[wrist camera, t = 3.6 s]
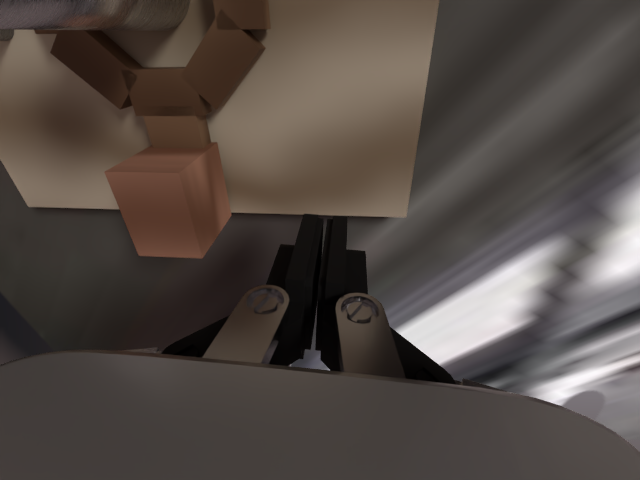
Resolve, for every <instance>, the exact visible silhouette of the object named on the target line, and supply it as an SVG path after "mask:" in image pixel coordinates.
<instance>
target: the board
mask: <svg viewBox="0 0 640 480" xmlns="http://www.w3.org/2000/svg"><path fill="white" fill-rule="evenodd" d="M268 1H269V13H270V25H271V29H256V30H249V31H250V32H251V33H252V34H253V35H254V36H255V37H256V38H257V39H258V40H259V41H260V42H261V43H262V44H263V45H264V47H265V48H266V49H265V50H264V52H263V53H262V55H261V56H260V57H259V59H258V60H257V61H256V63H255V64H254V65H253V67H252V68H251V70H250V71H249V72H248V74H247V75H246V76H245V78H244V79H243V80H242V82H241V83H240V85H239V86H238V87H237V89H236V90H235V91H234V93H233V94H232V95H231V97H230V98H229V100H228V101H227V102H226V104H225V105H224V106H222V107H220V108H218V109H217V110H216V109H215V108H214V107H213V106H212V105H211V110H212V112H210V113H208V114H206V119H207V124H208V129H209V134H210V139H211V142H217V143H218V149H219V154H220V159H221V164H222V169H223V174H224V179H225V184H226V189H227V195H228V200H229V205H230V210H231V213H267V214H302V215H304V214H318V215H338V216H373V217H406V216H407V209H408V202H409V196H410V189H411V183H412V176H413V170H414V163H415V156H416V150H417V143H418V137H419V130H420V124H421V117H422V110H423V104H424V97H425V91H426V84H427V78H428V71H429V64H430V58H431V51H432V45H433V38H434V31H435V25H436V18H437V12H438V5H439V0H268ZM215 18H216V16H215V10H214V4H213V0H190V6H189V10H188V13H187V15H186V17H185V19H184V20H183V21H182V22H181V24H180V25H178V26H177V27H175V28H173V29H171V30H166V31H130V30H102V31H103V32H104V33H105V34H106V35H107V36H108V37H109V38H111V39H112V40H113V41H114V42H115V43H116V44H117V45H118V46H120V47H121V48H122V49H123V50H124V51H125V52H126V53H128V54H129V55H130V56H131V57H132V58H133V59H134V60H135V61H137V62H138V63H139V64H140V65H141V66H142V67H186V65H187V64H188V62H189V60H190V59H191V57H192V56H193V54H194V52H195V51H196V49H197V47H198V46H199V44H200V43H201V41H202V39H203V38H204V36H205V34H206V33H207V31H208V30H209V28H210V26H211V25H212V23H213V21H214V20H215ZM56 35H57V34H36V33H35V31H34V30H15V29H14V36H13V38H12V39H11V40H9V41H0V159H1V161H2V163H3V165H4V166H5V168H6V170H7V171H8V173H9V175H10V176H11V178H12V180H13V182H14V183H15V185H16V187H17V188H18V190H19V192H20V193H21V195H22V197H23V198H24V200H25V202H26V204H27V205H28V207H53V208H88V209H119V207H118V204H117V202H116V199H115V197H114V195H113V192H112V190H111V187H110V185H109V182H108V180H107V178H106V175H105V173H104V172H105V171H106V170H108V169H110V168H112V167H114V166H115V165H117V164H119V163H121V162H122V161H124V160H126V159H128V158H130V157H131V156H133V155H135V154H137V153H139V152H140V151H142V150H144V149H146V148H148V147H149V146H151V145H152V143H151V140H150V137H149V134H148V130H147V127H146V124H145V121H144V118H143V116H136V115H135V112H134V109H133V106H130V107H127V108H124V109H121V110H120V109H118V108H117V107H116V106H115V105H114V104H112V103H111V102H110V101H109V100H107V99H106V98H105V97H104V96H102V95H101V94H100V93H99V92H98V91H96V90H95V89H94V88H93V87H91V86H90V85H89V84H88V83H86V82H85V81H84V80H83V79H82V78H80V77H79V76H78V75H77V74H75V73H74V72H73V71H72V70H70V69H69V68H68V67H67V66H66V65H64V64H63V63H62V62H61V61H59V60H58V59H57V58H56V57H54V56H53V55H52V54H51V53H50V51H51V49H52V46H53V43H54V41H55V38H56Z"/></svg>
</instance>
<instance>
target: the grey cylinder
mask: <svg viewBox="0 0 640 480" xmlns="http://www.w3.org/2000/svg"><path fill="white" fill-rule="evenodd" d="M189 6H190V0H0V41H9V40H11V39H12V38H13V36H14V29H15V30H130V31H166V30H171V29H173V28H175V27H177V26H178V25H180V24H181V22H182V21H183V20H184V19H185V17H186V15H187V13H188V10H189Z"/></svg>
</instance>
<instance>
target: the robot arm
mask: <svg viewBox="0 0 640 480" xmlns="http://www.w3.org/2000/svg"><path fill="white" fill-rule="evenodd" d="M322 239H323V219H322V218H318V214H304V215H303V219H302V222H301V226H300V229H299V233H298V236H297V240H296V243H295V245H284V244H281V245H280V247H279V250H278V253H277V256H276V258H275V261H274V264H273V267H272V269H271V272H270V275H269V278H268V281H267V283H266V285H260V286H257V287H254V288H252V289H250V290H249V291H247V292H246V293H245V294H244V295H243V297H242V298H241V300H240V301H239V303H238V304H237V306H236V307H235V309H234V310H233V312H232V313H231V315H230V316H228V317H225V318H223V319H221V320H219V321H217V322H215V323H213V324H211V325H209V326H207V327H205V328H203V329H201V330H199V331H197V332H195V333H193V334H191V335H189V336H187V337H185V338H183V339H181V340H179V341H176V342H175V343H173V344H171V345H170V346H168V347H167V348H166V349H165V350H164V351H159V349H158V347H154V348H144V349H133V350H123V351H118V350H96V349H90V350H67V351H57V352H48V353H43V354H38V355H33V356H28V357H24V358H20V359H17V360H13V361H10V362H7V363H5V364H1V365H0V480H640V452H639V451H638V450H637V449H636V448H635V447H634V446H633V445H631V444H630V443H629V442H628V441H627V440H625V439H624V438H623V437H621V436H620V435H618V434H617V433H616V432H614V431H612V430H611V429H609V428H607V427H605V426H604V425H602V424H600V423H598V422H596V421H594V420H592V419H590V418H588V417H586V416H583V415H581V414H579V413H576V412H574V411H572V410H569V409H567V408H564V407H562V406H559V405H556V404H553V403H550V402H547V401H543V400H540V399H537V398H533V397H529V396H524V395H520V394H516V393H511V392H507V391H504V390H500V389H497V388H494V387H490V386H487V385H484V384H480V383H477V382H474V381H470V380H467V379H464V378H463V379H462V381H461V382H460V381H456V380H454V379H453V378H452V376H451V375H450V374H449V373H448V372H447V371H446V370H445V369H443V368H442V367H441V366H439V365H438V364H437V363H436V362H434V361H433V360H432V359H430V358H429V357H428V356H427V355H425V354H424V353H423V352H421V351H420V350H419V349H418V348H416V347H415V346H414V345H413V344H411V343H410V342H409V341H407V340H406V339H405V338H404V337H402V336H401V335H400V334H398V333H397V332H396V331H395V330H393V329H392V328H391V327H390V326H389V323H388V320H387V317H386V314H385V311H384V308H383V306H382V304H381V303H380V302H379V301H378V300H377V299H376V298H374V297H372V296H370V295H368V290H367V272H366V254H365V251H358V250H346V243H347V217H344V216H333V219H328V220H327V227H326V234H325V241H324V247H323V254H322ZM321 260H322V261H321ZM317 301H318V303H317ZM316 308H317V326H316V350H319V351H321V361H322V362H323V363H324V364H325V365H326V366H327V367H328V368H329V369H330V371H329V370H319V369H310V368H300V367H291V364H292V363H293V362H295V361H296V360H298V359H303V357H304V351H305V349H309V350H310V349H311V344H312V337H313V329H314V322H315V315H316Z"/></svg>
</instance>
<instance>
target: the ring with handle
mask: <svg viewBox="0 0 640 480" xmlns="http://www.w3.org/2000/svg"><path fill="white" fill-rule="evenodd" d="M213 4H214V10H215V16H216V18H215V20H214V21H213V23H212V25H211V26H210V28H209V30H208V31H207V33H206V34H205V36H204V38H203V39H202V41H201V43H200V44H199V46H198V47H197V49H196V51H195V52H194V54H193V56H192V57H191V59H190V60H189V62H188V64H187V65H186V67H142V66H141V65H140V64H139V63H138V62H137V61H135V60H134V59H133V58H132V57H131V56H130V55H129V54H128V53H126V52H125V51H124V50H123V49H122V48H121V47H120V46H118V45H117V44H116V43H115V42H114V41H113V40H112V39H111V38H109V37H108V36H107V35H106V34H105V33H104V32H103V31H102V30H34V31H35V33H36V34H57V35H56V38H55V41H54V43H53V46H52V49H51V51H50V53H51V54H52V55H53V56H54V57H56V58H57V59H58V60H59V61H61V62H62V63H63V64H64V65H66V66H67V67H68V68H69V69H70V70H72V71H73V72H74V73H75V74H77V75H78V76H79V77H80V78H82V79H83V80H84V81H85V82H86V83H88V84H89V85H90V86H91V87H93V88H94V89H95V90H96V91H98V92H99V93H100V94H101V95H102V96H104V97H105V98H106V99H107V100H109V101H110V102H111V103H112V104H114V105H115V106H116V107H117V108H118V109H120V110H121V109H124V108H127V107H130V106H133V109H134V112H135V115H136V116H143V118H144V121H145V124H146V127H147V130H148V134H149V137H150V140H151V143H152V145H151V146H149V147H148V148H146V149H144V150H142V151H140V152H139V153H137V154H135V155H133V156H131V157H130V158H128V159H126V160H124V161H122V162H121V163H119V164H117V165H115V166H114V167H112V168H110V169H108V170H106V171H105V172H104V173H105V175H106V178H107V180H108V182H109V185H110V187H111V190H112V192H113V195H114V197H115V199H116V202H117V204H118V207H119V209H120V211H121V214H122V216H123V219H124V221H125V224H126V226H127V228H128V231H129V233H130V236H131V238H132V240H133V243H134V245H135V248H136V250H137V253H138V255H139V256H155V257H179V258H203V257H204V256H205V254H206V253H207V251H208V250H209V248H210V247H211V245H212V244H213V242H214V241H215V239H216V238H217V236H218V235H219V233H220V232H221V230H222V229H223V227H224V226H225V224H226V223H227V221H228V220H229V218H230V217H231V210H230V205H229V200H228V195H227V189H226V184H225V179H224V174H223V169H222V164H221V159H220V154H219V149H218V143H217V142H211V139H210V134H209V129H208V124H207V119H206V114H208V113H210V112H212V110H211V105H212V106H213V107H214V108H215V109H216V110H217V109H218V108H220V107H222V106H224V105H225V104H226V102H227V101H228V100H229V98H230V97H231V95H232V94H233V93H234V91H235V90H236V89H237V87H238V86H239V85H240V83H241V82H242V80H243V79H244V78H245V76H246V75H247V74H248V72H249V71H250V70H251V68H252V67H253V65H254V64H255V63H256V61H257V60H258V59H259V57H260V56H261V55H262V53H263V52H264V50H265V49H266V48H265V47H264V45H263V44H262V43H261V42H260V41H259V40H258V39H257V38H256V37H255V36H254V35H253V34H252V33H251V32H250V31H249V30H256V29H271V25H270V13H269V1H268V0H213Z"/></svg>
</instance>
